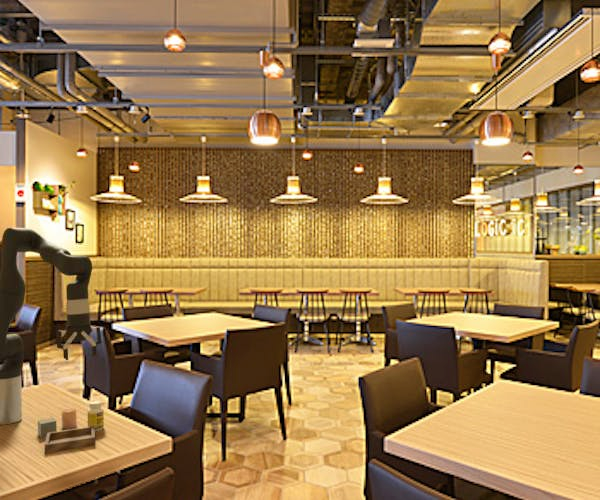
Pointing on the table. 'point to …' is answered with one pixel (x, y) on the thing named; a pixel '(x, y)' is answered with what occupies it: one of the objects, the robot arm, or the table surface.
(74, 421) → the terracotta cylinder
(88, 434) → the walnut tray
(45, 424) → the blue-grey cube
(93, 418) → the supplement bottle
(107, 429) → the table surface
